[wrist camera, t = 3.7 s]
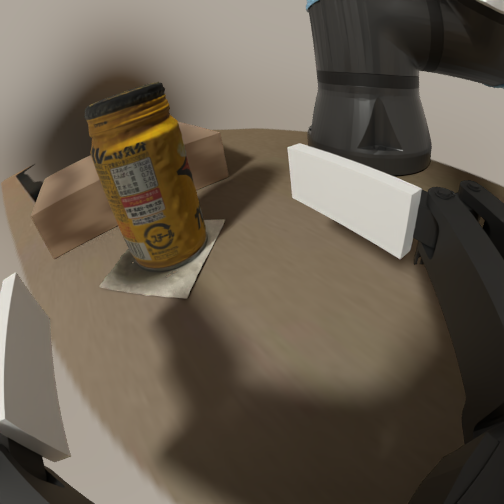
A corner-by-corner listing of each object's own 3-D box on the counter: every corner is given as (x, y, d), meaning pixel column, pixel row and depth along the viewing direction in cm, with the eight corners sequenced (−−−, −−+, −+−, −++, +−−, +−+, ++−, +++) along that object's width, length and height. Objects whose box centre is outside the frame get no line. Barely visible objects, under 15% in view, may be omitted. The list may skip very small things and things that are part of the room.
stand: (184, 152, 40) (176, 121, 37) (229, 176, 30) (220, 132, 27) (58, 209, 33) (45, 178, 30) (54, 259, 23) (30, 216, 20)
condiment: (225, 221, 23) (192, 71, 16) (187, 300, 17) (115, 97, 10) (150, 223, 25) (109, 96, 18) (101, 290, 19) (26, 136, 12)
